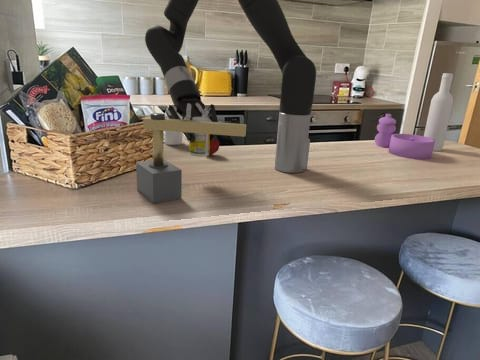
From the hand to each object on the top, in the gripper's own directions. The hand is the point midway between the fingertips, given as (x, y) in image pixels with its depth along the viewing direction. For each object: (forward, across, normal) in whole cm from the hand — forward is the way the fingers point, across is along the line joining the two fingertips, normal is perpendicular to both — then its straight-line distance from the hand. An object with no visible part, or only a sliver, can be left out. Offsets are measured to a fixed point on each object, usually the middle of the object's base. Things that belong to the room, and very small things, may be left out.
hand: (203, 139), depth 98 cm
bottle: (+13, +105, +4) cm, 106 cm away
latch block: (+10, -14, +6) cm, 18 cm away
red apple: (-8, +16, +24) cm, 30 cm away
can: (-22, +12, +38) cm, 46 cm away
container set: (+10, +88, +7) cm, 89 cm away
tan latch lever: (+9, -8, -3) cm, 12 cm away
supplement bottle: (+2, 0, +4) cm, 5 cm away
